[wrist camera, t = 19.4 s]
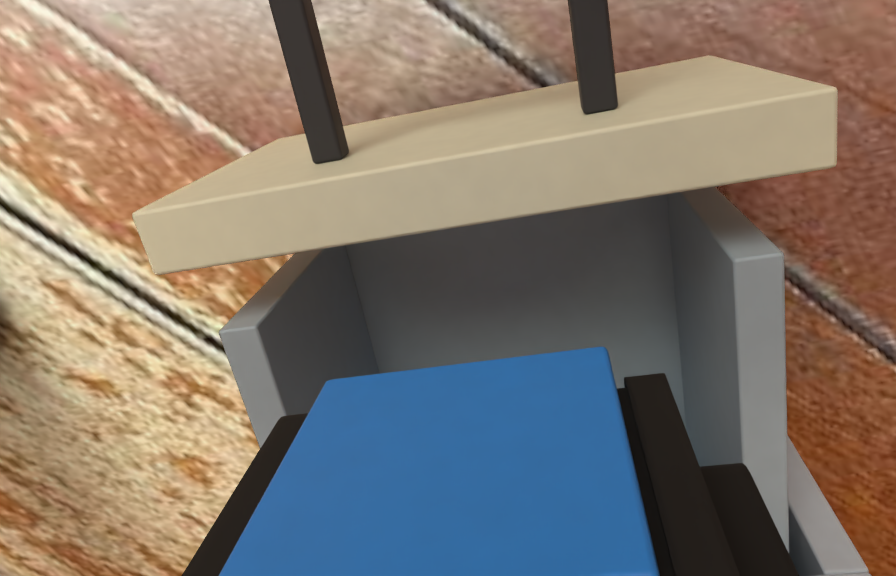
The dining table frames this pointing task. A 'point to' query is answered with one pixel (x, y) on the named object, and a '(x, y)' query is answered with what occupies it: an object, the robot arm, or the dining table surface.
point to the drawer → (519, 236)
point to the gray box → (816, 528)
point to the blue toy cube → (457, 477)
